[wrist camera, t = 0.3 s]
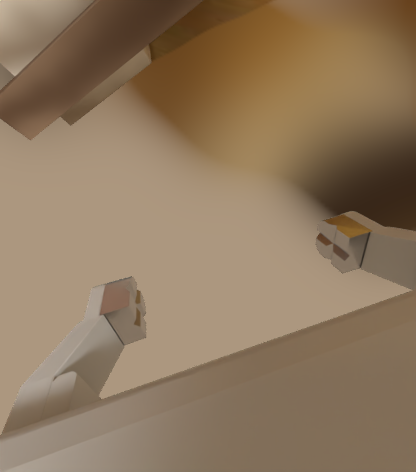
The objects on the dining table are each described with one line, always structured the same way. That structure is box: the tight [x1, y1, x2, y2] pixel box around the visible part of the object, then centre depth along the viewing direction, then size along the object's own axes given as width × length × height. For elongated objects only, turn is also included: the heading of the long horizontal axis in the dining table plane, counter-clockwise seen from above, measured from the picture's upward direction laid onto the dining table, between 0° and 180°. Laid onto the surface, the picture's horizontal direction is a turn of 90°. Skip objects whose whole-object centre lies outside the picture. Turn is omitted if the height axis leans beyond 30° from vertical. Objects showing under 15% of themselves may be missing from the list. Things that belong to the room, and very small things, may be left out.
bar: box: [0, 0, 203, 140], centre depth 21 cm, size 4×24×3 cm, turn 118°
